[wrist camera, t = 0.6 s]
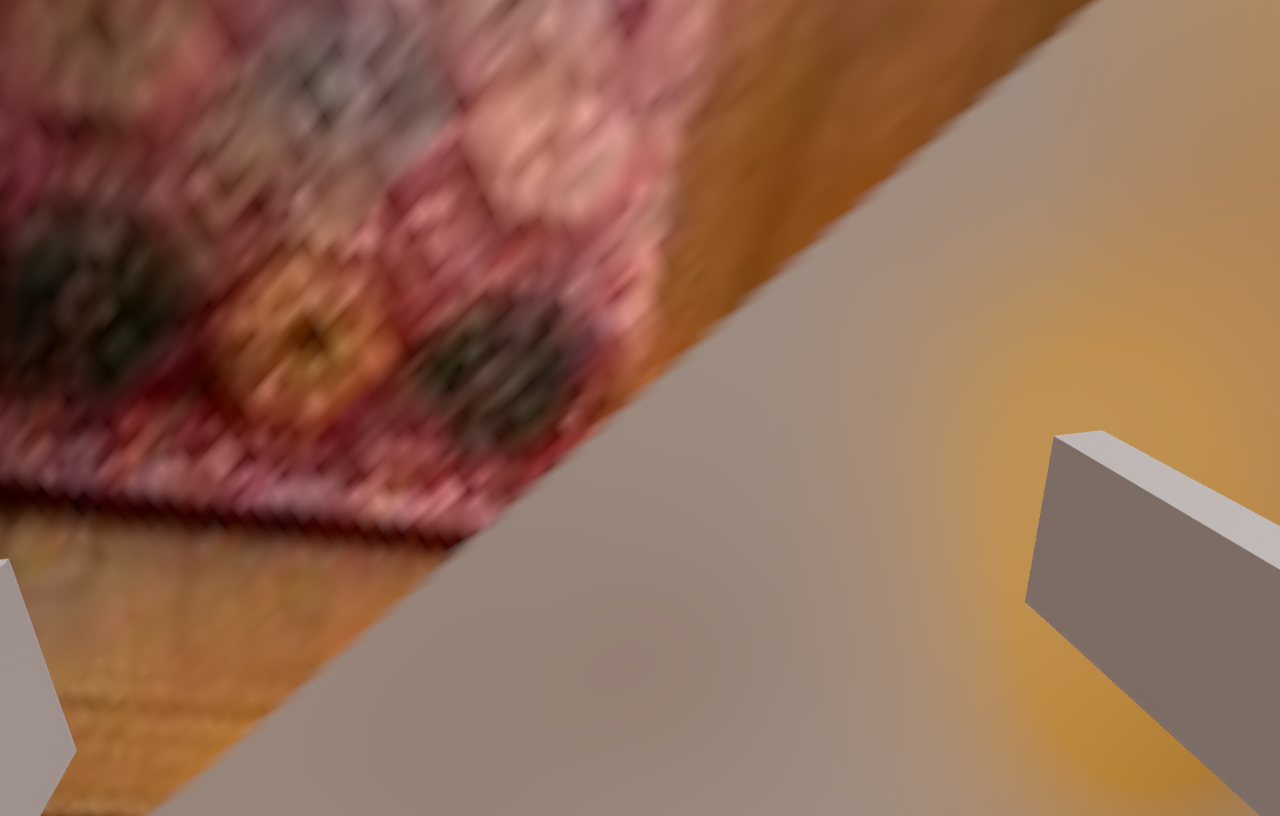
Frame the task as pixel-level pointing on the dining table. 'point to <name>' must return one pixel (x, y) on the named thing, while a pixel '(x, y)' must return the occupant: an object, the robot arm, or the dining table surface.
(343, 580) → the dining table surface
